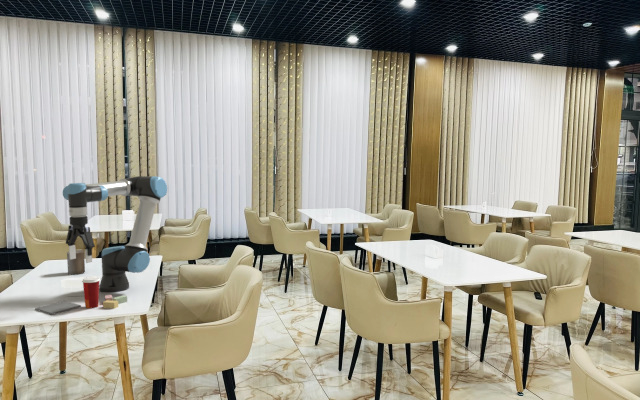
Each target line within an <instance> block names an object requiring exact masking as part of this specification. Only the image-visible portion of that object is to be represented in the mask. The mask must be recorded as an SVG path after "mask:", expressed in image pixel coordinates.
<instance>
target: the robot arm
mask: <svg viewBox="0 0 640 400" xmlns="http://www.w3.org/2000/svg"><path fill="white" fill-rule="evenodd" d="M167 193H168V185H167V183H166V181H165V179H164V178H163V177H162V176H161V177H160V176H155V175H154V176H149V175H148V176H147V175H146V176H145V175H142V176H141V175H139V176H132V177H127V178H120V179H119V180H116V181H107V182H105V181H104V182H96V183H87V184H86V183H85V182H72V183H69V184H68V185H66V186H64V188H63V190H62V196H63V198H64V199H65V200H66V201H68V213H69V225H68V230H67V235H66V239H65V244H66V245H67V246H68V252H69V257H70V260H71V259H76V250H77V249H76V241H77V239H78V237H79V238H80V239H81V240H82V241H81V242H82V243H83V245H84V246H85V248H84V258H85V263H86V264H88V263H92V262H93V248H96V246H95V242H94V239H93V235H92V233H91V228H90V226H87V227H86V225H87V224H89V223H88V222H89V221H88V216H87V215H88V203H93V202H102V201H105V200H107V199H108V198H109V197H113V196H122V197H126V196H129V197H130V196H131V197H132V196H133V197H137V198H138V199H139V204H138V207H137V212H136V216H135V219H134V223H133V227H132V231H131V234H130V235H131V236H130V239H129V242H128V243H127V244H125V245H119V246H118V245H117V246H111V247H106V248H104V249H102V251H101V270H102V271H101V273H102V276H101V279H100V281H99V292H103V293H115V292H121V291H125V290H128V289H130V282H129V279H128V277H127V274H126V273H127V272H128V273H134V274H135V273H138V274H139V273H142V272H144V271H145V270H146V269H147V268H148V267H149V265H150V262H151V257H150V254H149V253H148V251H149V250H148V247H147V241H148V238H149V233H150V231H151V230H150V229H151V226H152V222H153V218H154V214H155V210H156V206H157V204H159V203H160V201H161V199H162V198H164V197H165V196H166V195H167Z"/></svg>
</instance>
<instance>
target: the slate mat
mask: <svg viewBox="0 0 640 400" xmlns="http://www.w3.org/2000/svg"><path fill="white" fill-rule="evenodd" d="M81 307H82V305H81V304H77V303H74V302H70V301H67V300H62V301H61V300H60V301H58V302H53V303H50V304H49V303H48V304H45V305H41V306H39V307H35V309H34V310H36V311H38V312H43V313H45V314H48V315H51V316H52V315H56V314H60V313H63V312H64V313H65V312H66V311H67V312H68V311H70V310H74V309H78V308H81Z"/></svg>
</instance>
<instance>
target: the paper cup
mask: <svg viewBox="0 0 640 400" xmlns="http://www.w3.org/2000/svg"><path fill="white" fill-rule="evenodd" d="M100 282H101V279H100V277H99V276H87V277H84V278H83V279H82V281H81V283H82V287H83V297H84V305H85V309H95V308H98V307H99V301H100V299H99V298H100V290H99V285H100Z"/></svg>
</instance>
